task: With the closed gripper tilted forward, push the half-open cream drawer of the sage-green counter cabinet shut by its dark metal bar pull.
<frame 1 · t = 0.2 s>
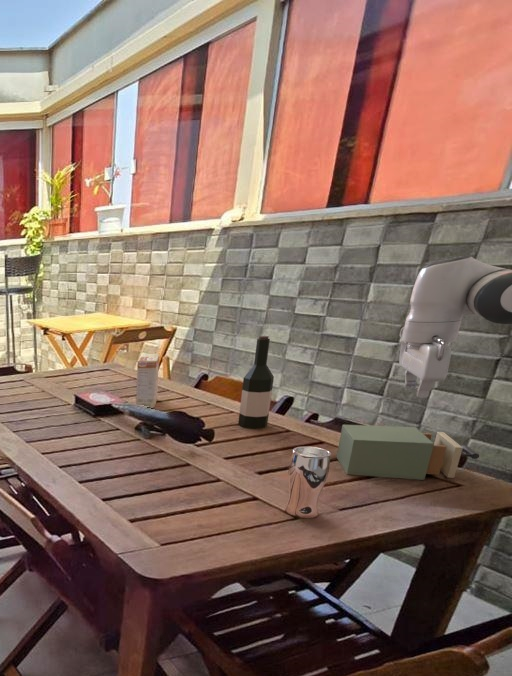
hand: (415, 392, 116), 22 cm above the counter, tool pointing down, fingers open, 8 cm apart
drawer: (422, 453, 123), point 5 cm above the counter, slide at 4.0 cm
beer glass: (300, 512, 112), on the counter
cabinet: (377, 467, 128), on the counter
wine bottle: (252, 425, 167), on the counter
coffeecake box: (146, 404, 204), on the counter
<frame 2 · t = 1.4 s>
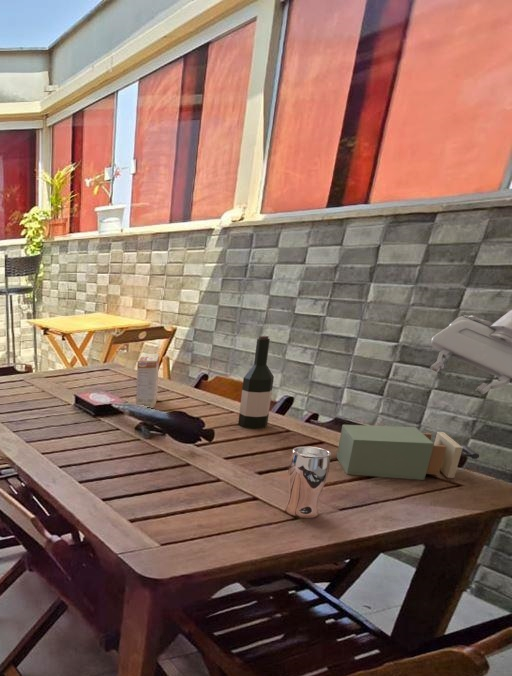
hand: (455, 380, 112), 25 cm above the counter, tool tilted 45°, fingers open, 8 cm apart
nothing on the counter moved.
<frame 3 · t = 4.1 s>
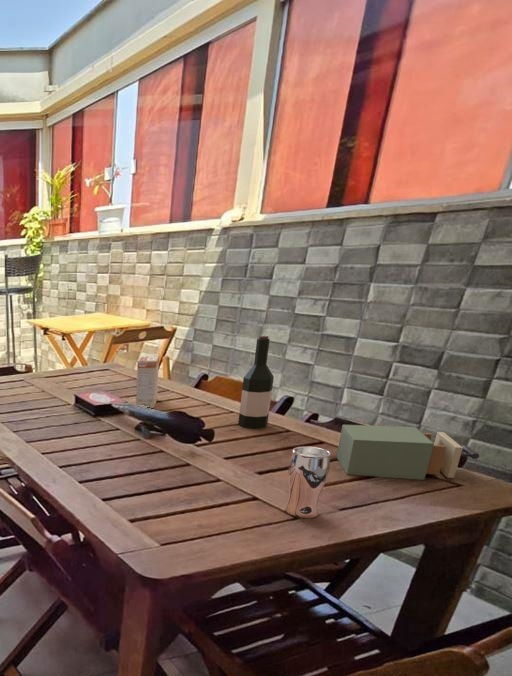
nothing on the counter moved.
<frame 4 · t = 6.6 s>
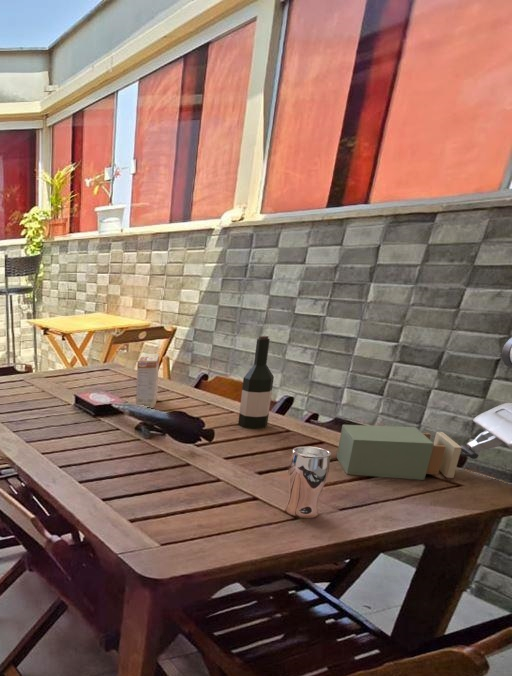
hand: (470, 448, 118), 7 cm above the counter, tool tilted 45°, fingers closed, pressing on drawer
drawer: (421, 453, 123), point 5 cm above the counter, slide at 3.8 cm, touching gripper
everything else where it was.
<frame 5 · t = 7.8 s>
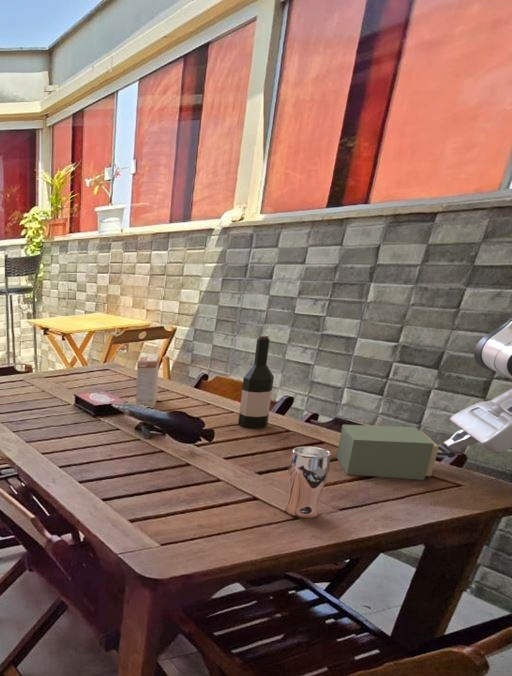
hand: (447, 447, 121), 6 cm above the counter, tool tilted 45°, fingers closed, pressing on drawer
drawer: (401, 451, 125), point 5 cm above the counter, slide at 0.0 cm, touching cabinet, gripper
everything else where it was.
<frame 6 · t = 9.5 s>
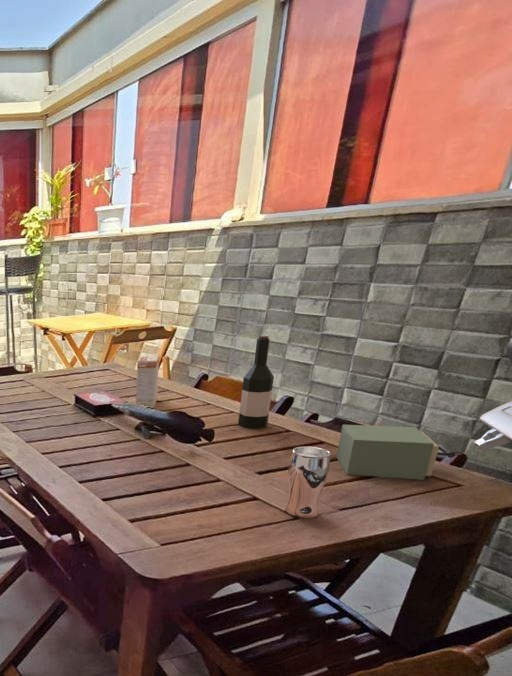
hand: (478, 447, 117), 7 cm above the counter, tool tilted 45°, fingers closed
drawer: (401, 451, 125), point 5 cm above the counter, slide at 0.0 cm
everything else where it was.
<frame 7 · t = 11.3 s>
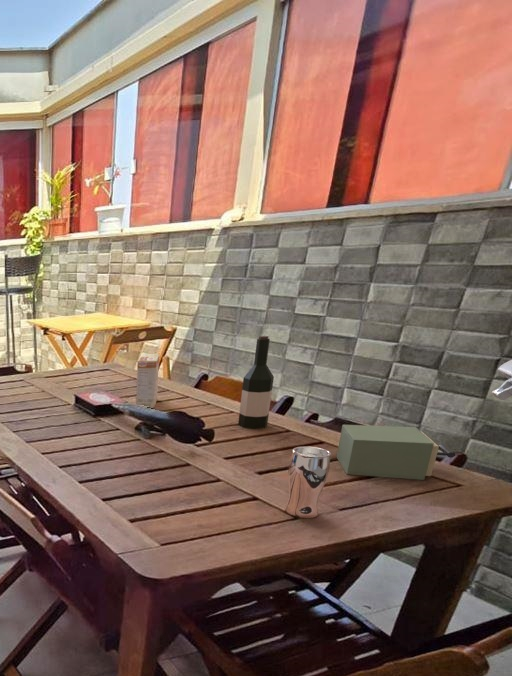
hand: (496, 396, 115), 19 cm above the counter, tool tilted 45°, fingers closed
nothing on the counter moved.
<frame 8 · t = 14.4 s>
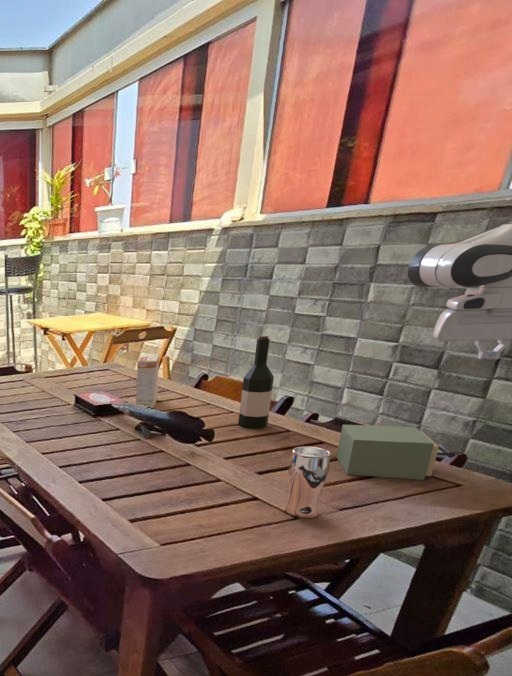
hand: (487, 358, 116), 27 cm above the counter, tool pointing down, fingers closed
nothing on the counter moved.
at the end: drawer slide at 0.0 cm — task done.
